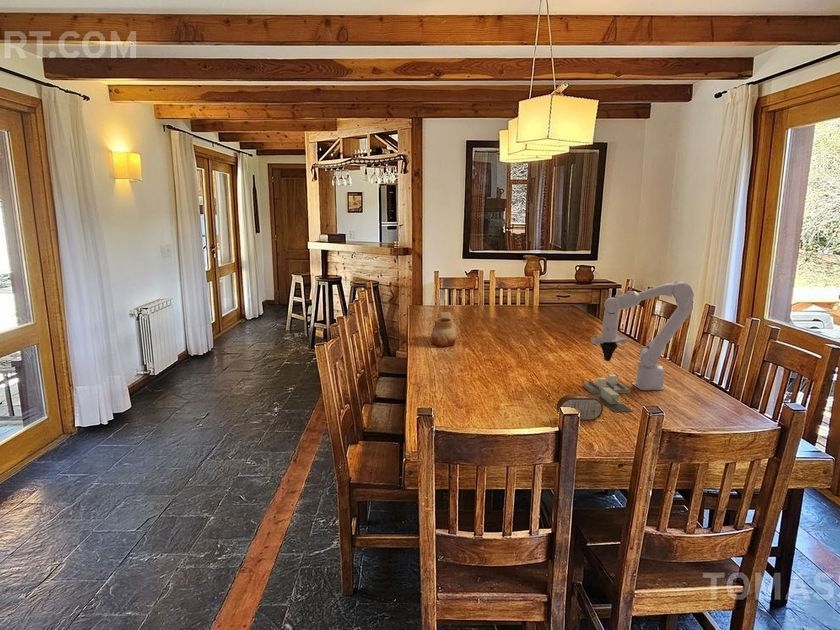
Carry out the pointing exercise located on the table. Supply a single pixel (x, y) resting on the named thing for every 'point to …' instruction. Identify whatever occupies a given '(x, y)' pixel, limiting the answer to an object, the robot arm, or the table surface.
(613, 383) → the tab
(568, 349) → the table surface
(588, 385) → the switch panel
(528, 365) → the table surface
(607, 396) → the driver
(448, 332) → the ceramic vessel
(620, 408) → the tool mat
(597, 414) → the tin
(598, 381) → the tab
